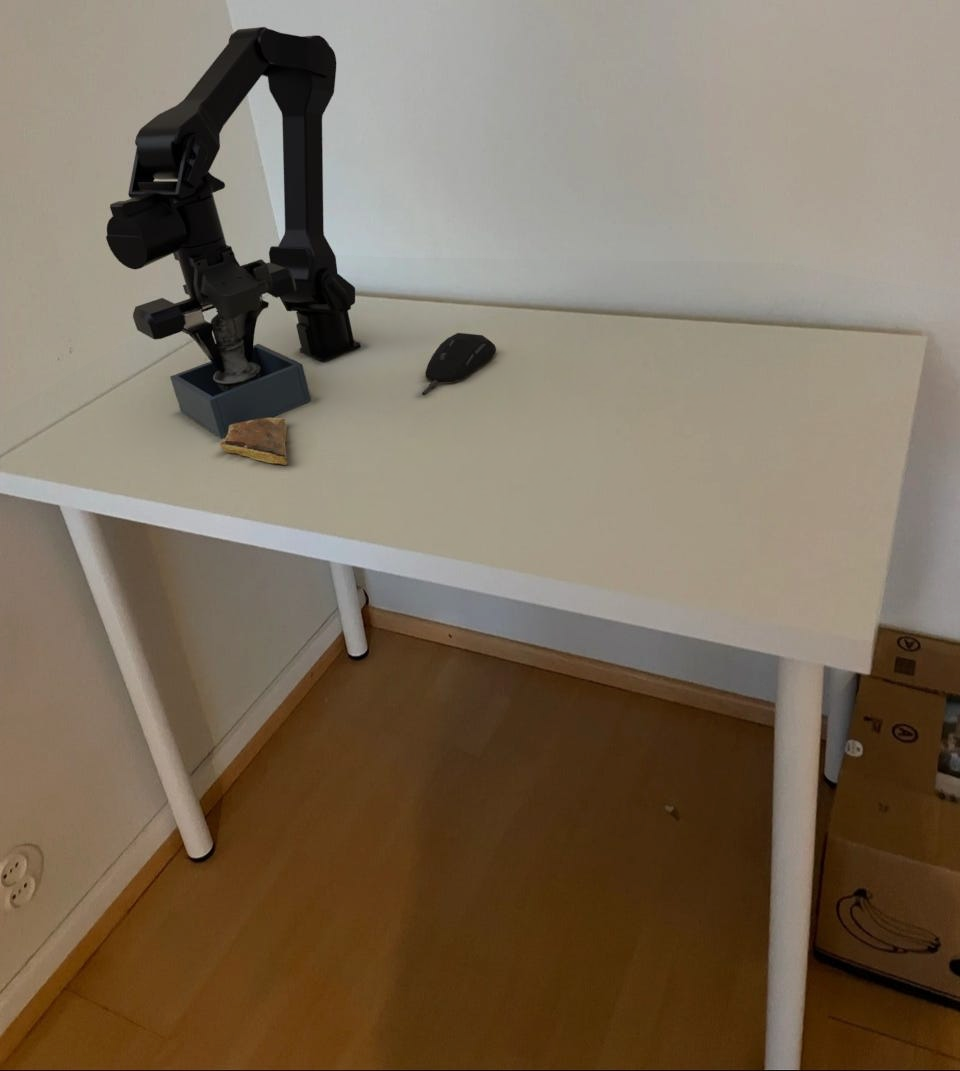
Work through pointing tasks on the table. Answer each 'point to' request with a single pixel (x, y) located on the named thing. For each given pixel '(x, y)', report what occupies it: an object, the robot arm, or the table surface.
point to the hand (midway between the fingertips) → (235, 366)
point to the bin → (241, 392)
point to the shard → (258, 440)
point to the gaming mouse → (458, 358)
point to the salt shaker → (231, 355)
